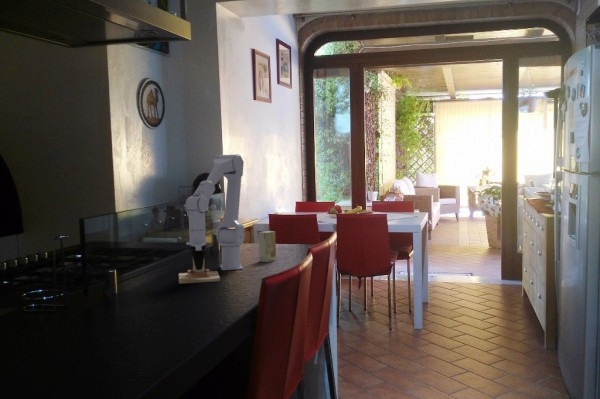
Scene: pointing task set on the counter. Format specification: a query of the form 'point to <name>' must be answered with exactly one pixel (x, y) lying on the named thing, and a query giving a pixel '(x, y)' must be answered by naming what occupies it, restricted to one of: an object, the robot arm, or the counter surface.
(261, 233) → the skincare box
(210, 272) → the holder
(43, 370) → the counter surface
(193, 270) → the sleeve
